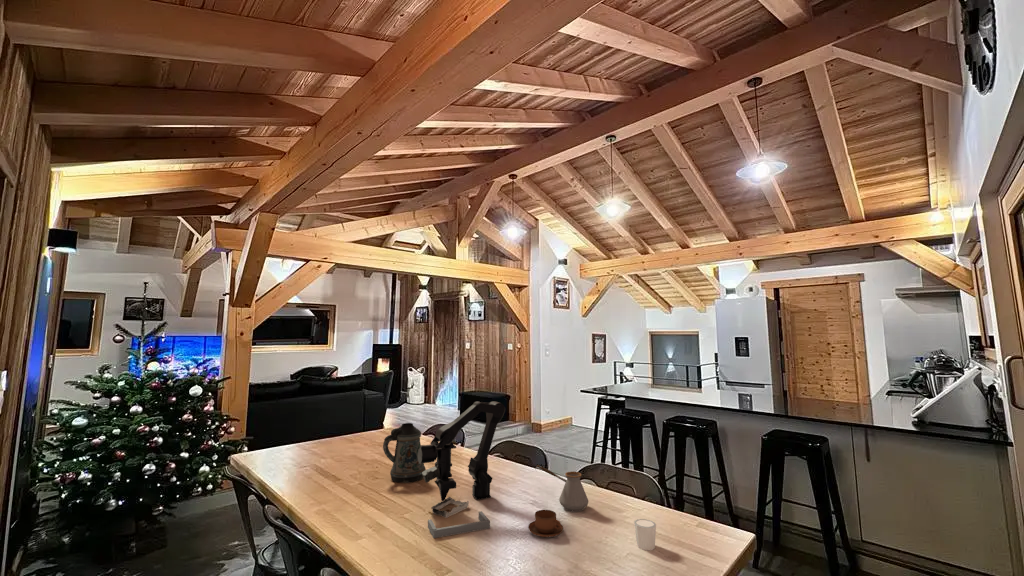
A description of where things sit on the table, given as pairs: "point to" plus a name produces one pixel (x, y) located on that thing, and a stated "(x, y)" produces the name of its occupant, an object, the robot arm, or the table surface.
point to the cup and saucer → (545, 524)
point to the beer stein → (405, 454)
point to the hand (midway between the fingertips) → (442, 500)
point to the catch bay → (459, 527)
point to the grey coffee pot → (571, 491)
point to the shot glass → (645, 534)
